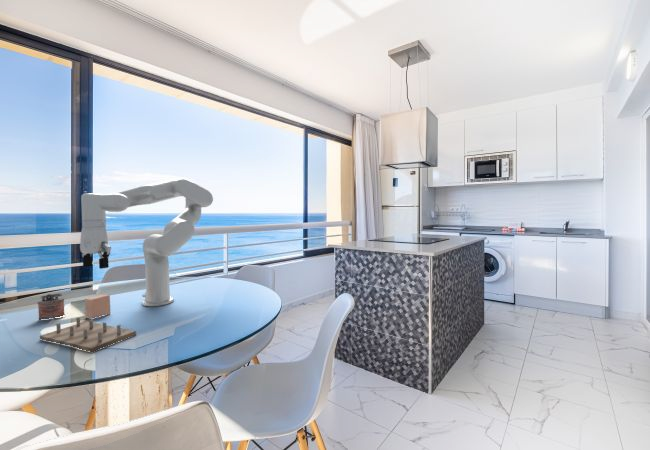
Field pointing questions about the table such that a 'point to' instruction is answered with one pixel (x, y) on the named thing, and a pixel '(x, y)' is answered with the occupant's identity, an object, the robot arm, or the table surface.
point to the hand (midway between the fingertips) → (95, 267)
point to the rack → (88, 335)
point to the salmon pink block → (97, 306)
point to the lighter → (51, 306)
